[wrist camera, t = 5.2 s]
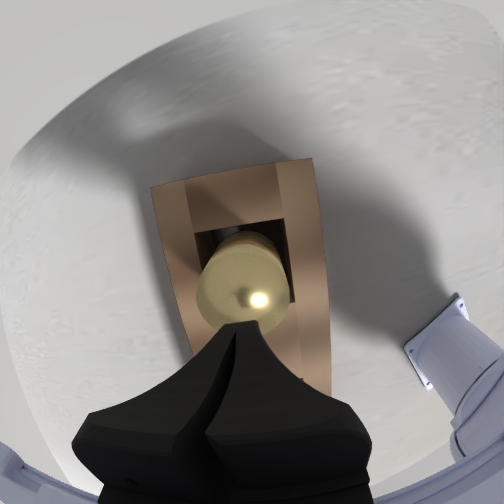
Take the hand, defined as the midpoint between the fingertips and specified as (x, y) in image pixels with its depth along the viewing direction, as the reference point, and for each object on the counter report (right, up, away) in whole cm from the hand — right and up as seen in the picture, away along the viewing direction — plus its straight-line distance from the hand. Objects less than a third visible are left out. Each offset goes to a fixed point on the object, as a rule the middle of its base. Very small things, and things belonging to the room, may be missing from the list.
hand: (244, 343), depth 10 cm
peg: (0, +3, +6) cm, 7 cm away
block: (+1, -1, +11) cm, 11 cm away
